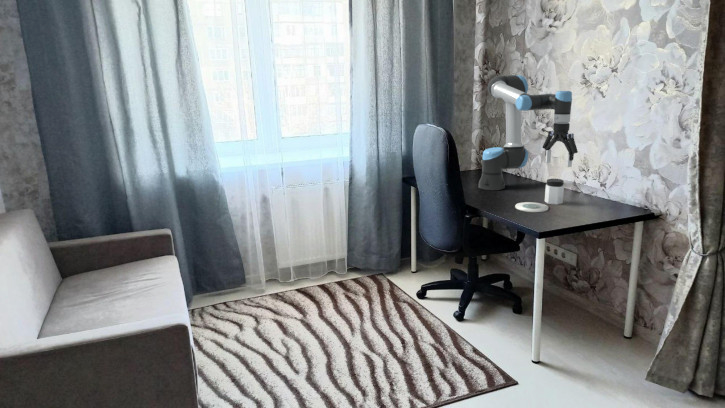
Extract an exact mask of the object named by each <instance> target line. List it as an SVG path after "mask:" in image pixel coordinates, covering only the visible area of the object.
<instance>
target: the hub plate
mask: <svg viewBox="0 0 725 408" xmlns="http://www.w3.org/2000/svg"><path fill="white" fill-rule="evenodd" d="M514 208H515V209H516V210H518V211H521V212H525V213H543V212H544V213H545V212H547V211H548V210H549V206H548V205H547V204H544V203H540V202H534V201H533V202H531V201H525V202H518V203H516V204H515V206H514Z"/></svg>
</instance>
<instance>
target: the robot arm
mask: <svg viewBox="0 0 725 408" xmlns="http://www.w3.org/2000/svg"><path fill="white" fill-rule="evenodd" d="M528 91H529V83H528V81H527V79H526V77H525V76H523V75H521V74H515V75H514V74H513V75H498V76H497V75H496V76H495V77H493V78H491V80H489V82H488V84H487V92H488V94H489V95H490V96H492V97H494V98H495V99H502V100H503V101H504V102H505V139H506V140H505V144H504V145H503V147H499V146H497V147H489V148H486V149H485V150H484V151H482V159H481V160H482V164H481V165H482V166H481V167H482V168H481V177H480V179H479V181H478V188H479V189H481V190H485V191H501V190H504V189H505V188H506V187H505V186H506V185H505V181H504V176H503V170H514V169H515V170H517V169H521V168H522V169H523V168H524V167H525V166H526V165H527V163H528V161H529V152H528V149H526V148H525V145H524V144H523V143H522V111H523V112H526V111H538V110H539V111H542V110H554V113H553V124H552V130H550V131H548V133H547V137H546V138H545V140H544V142H543V145H542V147H541V148H542V149H544V150H545V154H544V155H545V164H549V163H551V158H552V147H553V146H554V145H555V144H556V142H561V143H563V145H564V146H565V149H566V150H567V152H568V153H567V158H566V168H571V167H572V166H573V161H574V158H575V157H574V155H575V154H577V153H579V151H578V148H577V145H576V142H575V136H574V135H575V133H569V131H570V122H571V111H572V102H573V92H572V91H571V90H558V91H557V90H556V92H555V94H553V93H544V94H530V93H528Z"/></svg>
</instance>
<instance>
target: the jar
mask: <svg viewBox="0 0 725 408" xmlns="http://www.w3.org/2000/svg"><path fill="white" fill-rule="evenodd" d="M564 181H565V180H564V179H562V178H548V179H547V180H546V184H545V191H544V202H545V203H546V204H548V205H557V206H558V205H561V204H564V203H563V201H564V191H565V185H564Z"/></svg>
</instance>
